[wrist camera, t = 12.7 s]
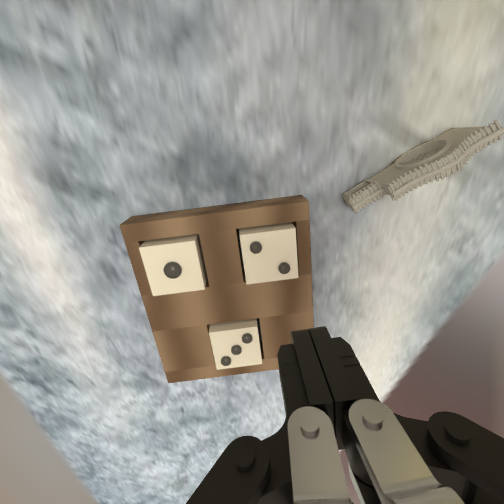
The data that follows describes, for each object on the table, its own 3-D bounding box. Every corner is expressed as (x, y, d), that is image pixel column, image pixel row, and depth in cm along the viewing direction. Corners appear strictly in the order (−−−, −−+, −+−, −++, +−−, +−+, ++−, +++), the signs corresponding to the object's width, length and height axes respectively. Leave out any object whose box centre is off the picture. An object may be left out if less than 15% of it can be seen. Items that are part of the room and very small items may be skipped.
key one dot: (199, 228, 28) (194, 241, 24) (208, 273, 30) (204, 291, 26) (150, 235, 28) (137, 249, 24) (161, 279, 30) (152, 297, 26)
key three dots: (255, 307, 32) (257, 328, 28) (259, 342, 34) (262, 366, 30) (211, 312, 32) (208, 334, 28) (218, 347, 34) (216, 371, 30)
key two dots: (288, 217, 28) (296, 229, 24) (291, 262, 30) (299, 279, 26) (239, 224, 28) (239, 236, 24) (245, 268, 30) (246, 286, 26)
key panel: (301, 195, 28) (308, 201, 25) (308, 346, 35) (315, 364, 32) (131, 216, 28) (119, 225, 25) (173, 363, 35) (168, 383, 32)
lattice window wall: (344, 207, 29) (370, 223, 23) (337, 192, 28) (361, 205, 22) (457, 139, 27) (515, 140, 21) (452, 122, 26) (509, 117, 20)
